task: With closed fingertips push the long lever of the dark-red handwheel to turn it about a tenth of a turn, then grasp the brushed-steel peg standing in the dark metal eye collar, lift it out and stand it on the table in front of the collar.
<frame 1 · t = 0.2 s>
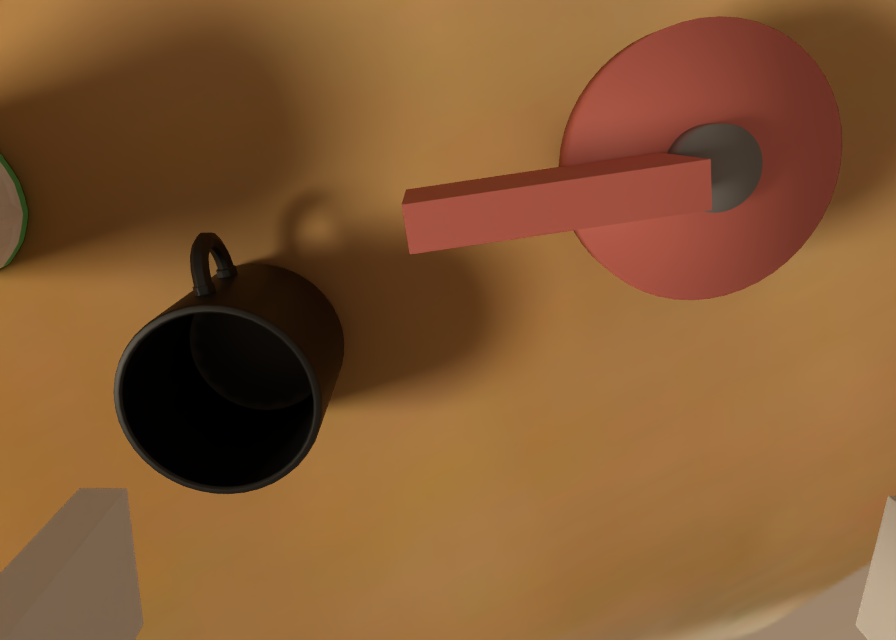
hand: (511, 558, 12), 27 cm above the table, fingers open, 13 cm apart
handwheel: (637, 181, 27), point 10 cm above the table, hinge at 0.0°
mug: (259, 319, 39), on the table
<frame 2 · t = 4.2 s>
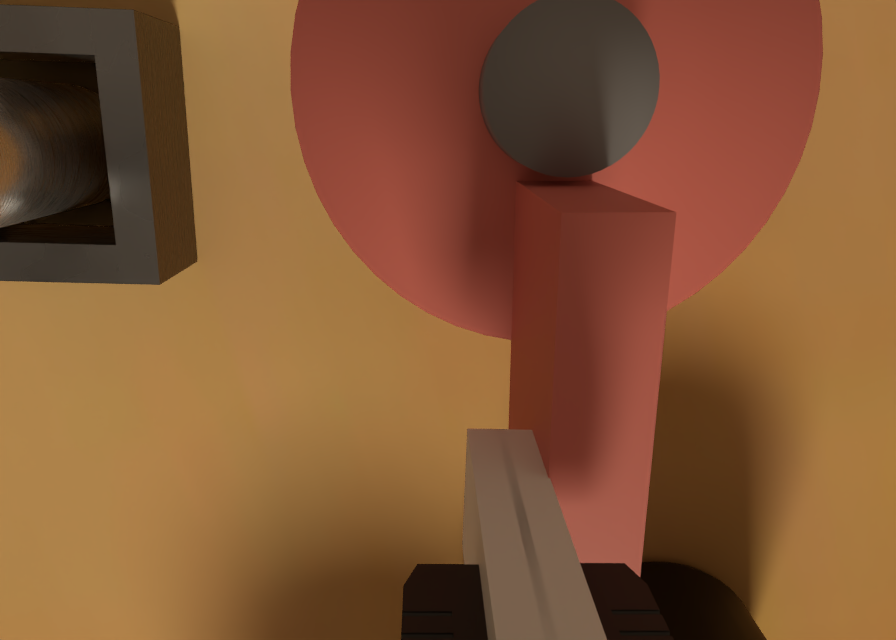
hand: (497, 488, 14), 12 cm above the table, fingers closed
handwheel: (565, 258, 14), point 10 cm above the table, hinge at 2.0°, touching gripper
eye collar: (72, 146, 23), on the table
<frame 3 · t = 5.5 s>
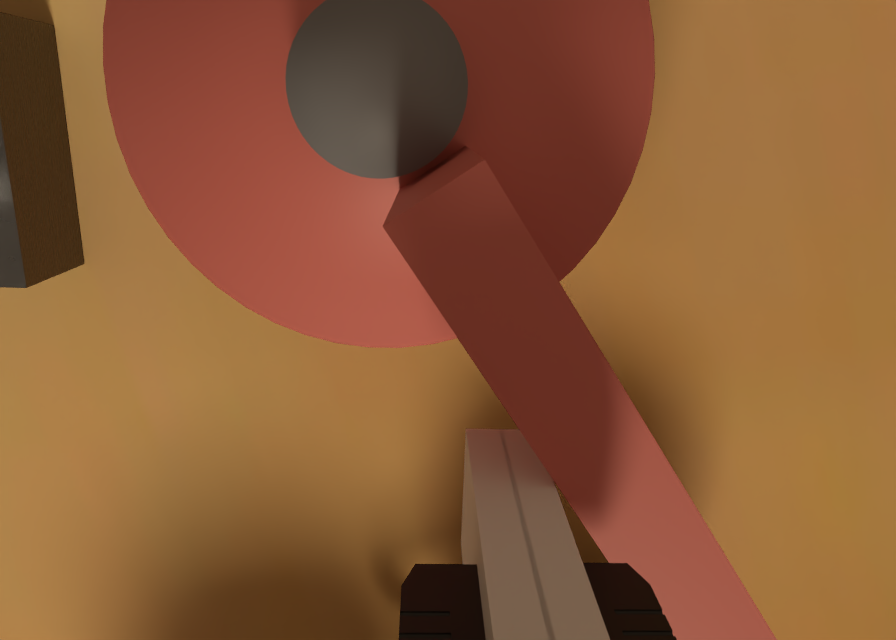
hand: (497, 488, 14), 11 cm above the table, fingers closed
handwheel: (471, 235, 14), point 10 cm above the table, hinge at 34.6°, touching gripper
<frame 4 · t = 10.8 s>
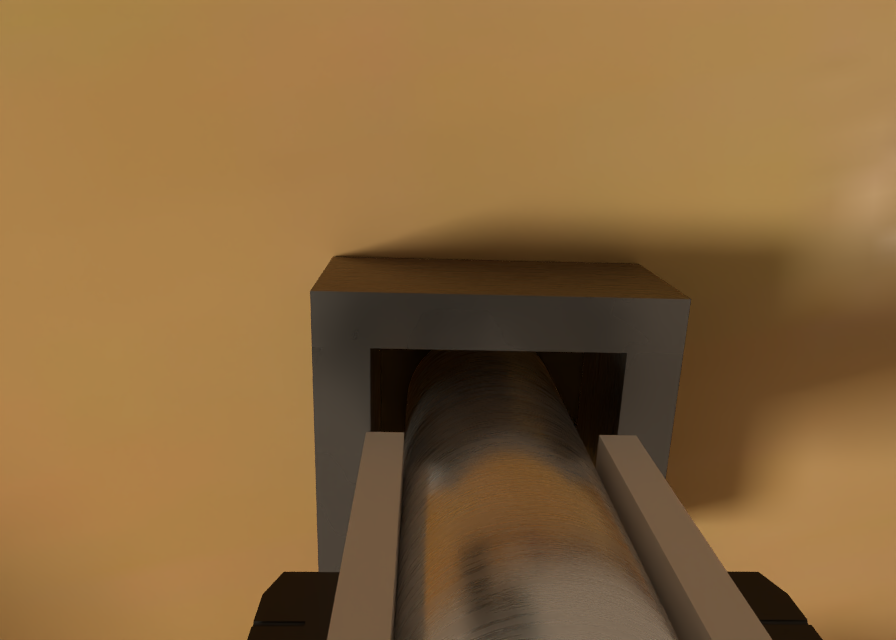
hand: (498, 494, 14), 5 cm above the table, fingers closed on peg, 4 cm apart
eye collar: (480, 401, 18), on the table
peg: (509, 550, 12), in the eye collar, touching gripper
when the fingers open (6 cm above the table, at t = 16.7 s): peg drops 1 cm, on the table.
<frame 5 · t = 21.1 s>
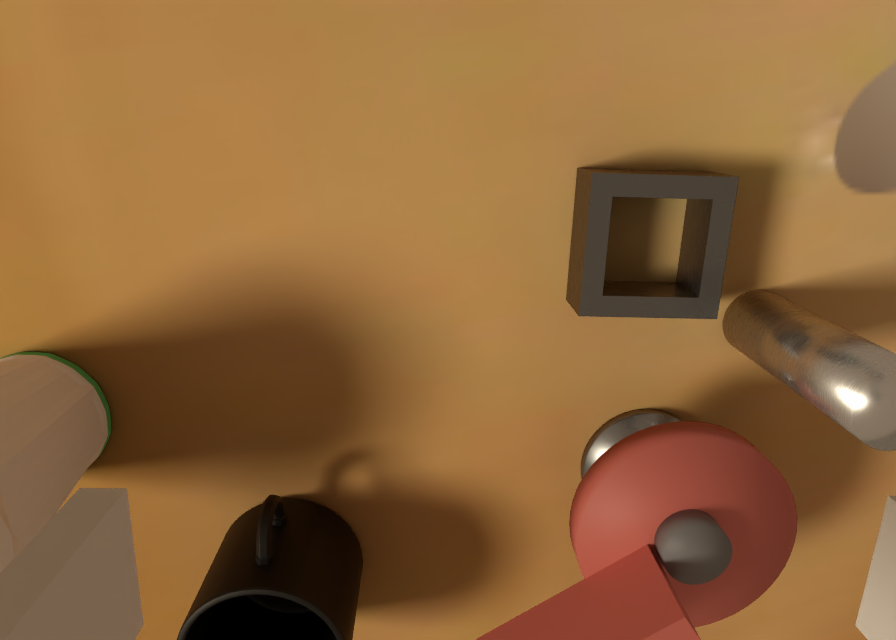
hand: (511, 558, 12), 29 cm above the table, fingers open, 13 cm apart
cup: (44, 413, 41), on the table
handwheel: (640, 590, 35), point 10 cm above the table, hinge at 34.9°
eye collar: (636, 237, 39), on the table
mug: (292, 538, 45), on the table
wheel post: (641, 464, 44), on the table
peg: (813, 357, 35), on the table
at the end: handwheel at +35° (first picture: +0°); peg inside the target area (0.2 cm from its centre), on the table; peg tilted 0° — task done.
